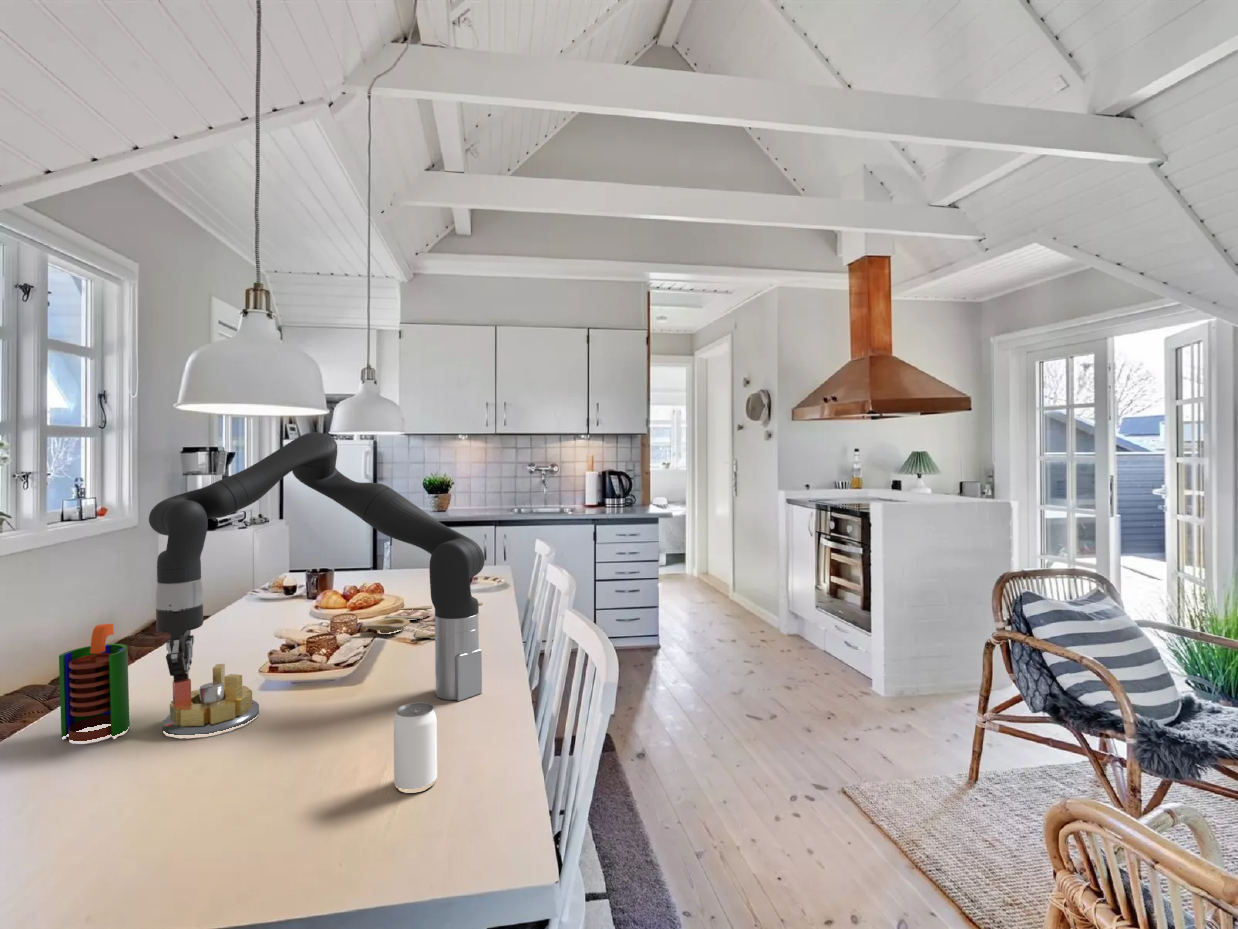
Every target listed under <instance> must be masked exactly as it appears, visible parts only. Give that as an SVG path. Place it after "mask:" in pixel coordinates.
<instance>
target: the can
mask: <svg viewBox="0 0 1238 929" xmlns="http://www.w3.org/2000/svg"><path fill="white" fill-rule="evenodd" d="M437 720H438V719H437V714H436V712H435V710H434V705H433V704H431V703H429V702H425V701H424V702H423V701H421V702H420V701H419V702H417V701H416V702H411V703H407V704H406V703H405V704H404V705H401V706H400V707H398V708H397V710H396V715H395V718H394V719H393V772H394V776H393V778H394V779H393V780H394V786H395V785H396V786H397V787H398V788H402V789H415V788H421V787H423V786H426V785H428V784H431V783H432V782H433V781H435V780H436V778H437V779H438V733H437V732H438V730H437V729H438V728H437V727H438V725H437V723H438V722H437Z"/></svg>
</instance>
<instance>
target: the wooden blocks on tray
mask: <svg viewBox="0 0 1238 929" xmlns="http://www.w3.org/2000/svg"><path fill="white" fill-rule="evenodd" d="M225 664H226V663H217V664H215V665H214V666H213V667H212V683H213V682H222V683H224V700H222V701H218V702H214V703H210V704H200V688H198V689H196V690H195V689H194V690H192V679H191V678H186V679H181V680H177V681H174V680H172V700H171V701H170V703H169V715H170V720H171V721H172V722H173V723H174V724H175V725H180V724H181V726H204V725H205V724H207V723H210V724H211V725H212V724H215V723H219V722H223V721H226V720H230V719H234V718H235V716H241V715H242V714H244V713H245V712H246V711H248V710H249V709H250V708H252V700H253V690H252V689H251V688H249V687H248V686H246V685H243V675H242V674H236V673H234V674H233V673H230V674H227V675H226V667H225V666H226V665H225Z"/></svg>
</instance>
